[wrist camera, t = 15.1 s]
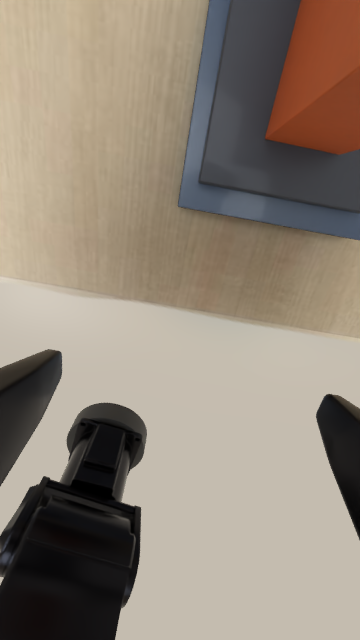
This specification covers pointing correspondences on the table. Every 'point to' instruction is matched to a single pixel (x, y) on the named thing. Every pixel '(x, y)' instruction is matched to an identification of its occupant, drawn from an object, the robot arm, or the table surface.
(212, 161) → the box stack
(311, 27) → the tall orange prism
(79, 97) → the table surface
